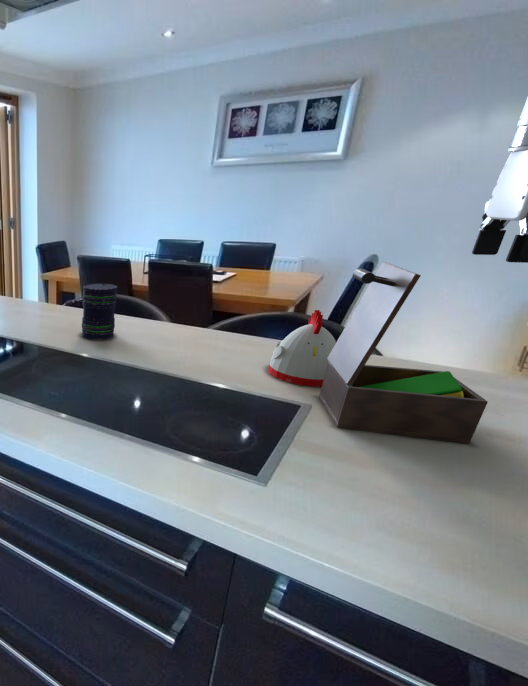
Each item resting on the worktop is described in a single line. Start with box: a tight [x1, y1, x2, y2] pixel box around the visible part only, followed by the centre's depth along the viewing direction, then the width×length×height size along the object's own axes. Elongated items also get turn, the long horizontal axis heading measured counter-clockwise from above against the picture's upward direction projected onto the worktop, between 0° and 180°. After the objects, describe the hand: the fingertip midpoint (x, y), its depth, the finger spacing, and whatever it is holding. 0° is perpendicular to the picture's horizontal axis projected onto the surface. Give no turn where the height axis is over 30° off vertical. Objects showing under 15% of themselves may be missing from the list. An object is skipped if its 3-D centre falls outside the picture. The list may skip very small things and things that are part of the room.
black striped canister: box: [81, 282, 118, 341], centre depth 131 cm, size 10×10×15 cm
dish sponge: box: [361, 370, 464, 398], centre depth 79 cm, size 7×14×2 cm, turn 63°
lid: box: [327, 261, 422, 386], centre depth 77 cm, size 19×14×6 cm
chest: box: [318, 362, 489, 445], centre depth 80 cm, size 19×14×8 cm
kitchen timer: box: [267, 309, 337, 388], centre depth 99 cm, size 14×14×15 cm
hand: (500, 258), depth 72 cm, fingers open, 9 cm apart
